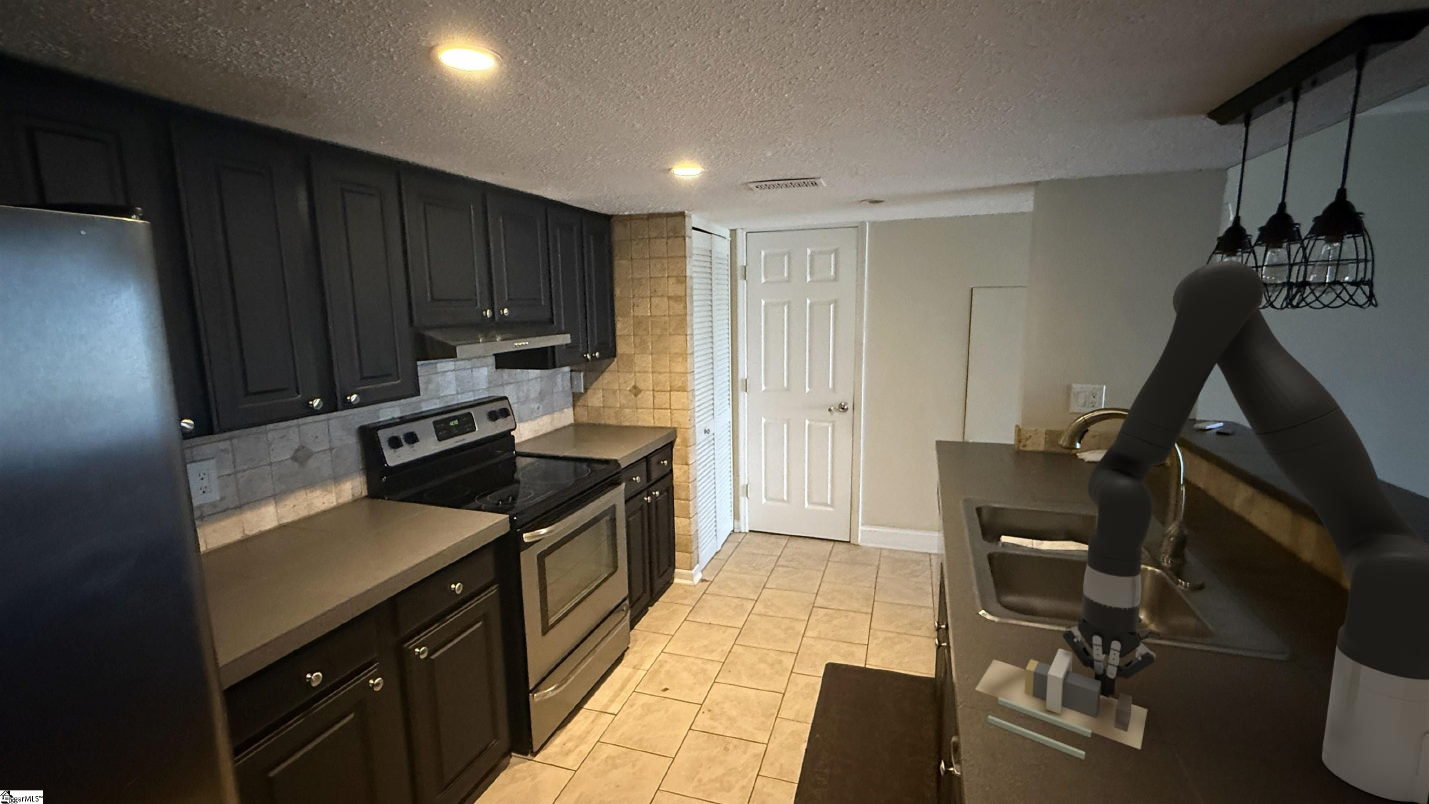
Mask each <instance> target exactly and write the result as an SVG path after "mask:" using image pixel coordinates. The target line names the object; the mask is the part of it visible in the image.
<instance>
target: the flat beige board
mask: <svg viewBox="0 0 1429 804" xmlns="http://www.w3.org/2000/svg"><path fill="white" fill-rule="evenodd" d="M1025 675H1026V668H1025V669H1024V668H1021V667H1019V666H1015V665H1012V664H1009V663H1006V662H1003V661H1000V660H996V659H993V660H992V661H991V663H990V665H989V666H988V668H987V669H986V671H985V673H984V674H983V676H982V678H981V679H980V681H979V683H978V684H977V686H976V688H975V691H977V692H981V693H983V694H986V695H989V696H991V697H994V698H997V699H998V698H999V697H1000V698H1003V699H1006V700H1009V701H1011V702H1014V703H1017V704H1020V705H1023V706H1025V707H1028V708H1031V709H1034V710H1036V711H1039V712H1042V713H1045V714H1047V715H1050V716H1053V717H1056V718H1059V719H1061V720H1064V721H1067V722H1070V723H1072V724H1075V725H1078V726H1081V727H1084V728H1086V729H1089V730H1091V733H1092V734H1093V733H1094V734H1097V735H1099V736H1101V737H1104V738H1107V739H1110V740H1113V741H1116V742H1118V743H1121V744H1124V745H1126V746H1130V747H1132V748H1135V749H1138V750H1141V749H1142V742H1143V737H1144V730H1145V725H1146V720H1147V714H1148V709H1147V708H1144V707H1143V706H1142V707H1141V706H1138V705H1135V704H1132V703H1133V696H1132V695H1129V694H1125V693H1123V692H1119V695H1118V698H1114V697H1111V696H1109V698H1107V697H1104V696H1101V695H1100V706H1099V710H1098V714H1097V717H1096V718H1094V717H1091V716H1088V715H1085V714H1082V713H1079V712H1077V711H1074V710H1071V709H1068V708H1065V707H1062V708H1061V713H1060V714H1058V713H1055V712H1053V711H1050V710H1047V709H1046V701H1045V700H1042V699H1039V698H1036V697H1033V696H1031V695H1028V694H1025Z"/></svg>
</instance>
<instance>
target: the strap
mask: <svg viewBox="0 0 1429 804" xmlns="http://www.w3.org/2000/svg"><path fill="white" fill-rule="evenodd" d="M1073 653H1074V652H1073V651H1068V650H1065V649H1062V648H1058V650H1057V652H1056V654H1055V657H1054V659H1053V662H1052V663H1051V664H1050V665H1051V668H1050V670H1049V672H1048V679H1047V697H1046V709H1047V710H1050V711H1053V712H1055V713H1058V714H1060V713H1061V708H1062V691H1063V680H1064V677H1065V675H1066V672H1067V671H1070V672H1072V671H1073V670H1072V669H1073Z"/></svg>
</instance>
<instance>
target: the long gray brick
mask: <svg viewBox="0 0 1429 804" xmlns="http://www.w3.org/2000/svg"><path fill="white" fill-rule="evenodd" d="M1051 665H1052V664H1048V663H1044V662H1040V661H1039V660H1038V661H1037V660H1034V659H1030V660H1029V661H1028V663H1027V666H1026V668H1025V670H1026V675H1025V694H1028V695H1031V696H1033V697H1036V698H1039V699H1042V700H1045V701H1046V697H1047V679H1048V672H1049V670H1050V668H1051ZM1100 691H1101V681H1099V680H1095V678H1091V677H1089V676H1085V675H1082V674H1079V673H1075V672H1070V671H1067V672H1066V675H1065V677H1064V680H1063V691H1062V707H1065V708H1068V709H1071V710H1074V711H1077V712H1079V713H1082V714H1085V715H1088V716H1091V717H1094V718H1096V717H1097V714H1098V710H1099V706H1100Z"/></svg>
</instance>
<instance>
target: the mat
mask: <svg viewBox="0 0 1429 804" xmlns="http://www.w3.org/2000/svg"><path fill="white" fill-rule="evenodd" d="M997 704H998V705H1001V706H1002V707H1005V708H1009V709H1011V710H1014V711H1017V712H1019V713H1023V714H1025V715H1028V716H1031V717H1033V718H1037V719H1038V720H1041V721H1044V722H1047V723H1049V724H1053V725H1055V726H1057V727H1061V728H1063V729H1066V730H1069V731H1070V732H1071V731H1072V732H1074V733H1076V734H1079V735H1081V736H1085V737H1087V738H1091V736H1092V732H1091V730H1089V729H1086V728H1084V727H1081V726H1078V725H1075V724H1072V723H1070V722H1067V721H1064V720H1061V719H1059V718H1056V717H1053V716H1050V715H1047V714H1045V713H1042V712H1039V711H1036V710H1034V709H1031V708H1028V707H1025V706H1023V705H1020V704H1017V703H1014V702H1011V701H1009V700H1006V699H1003V698H1000V697H999V698H997ZM987 723H989V724H991V725H994V726H996V727H999V728H1002V729H1004V730H1007V731H1009V732H1011V733H1014V734H1017V735H1020V736H1022V737H1025V738H1027V739H1030V740H1033V741H1034V742H1037V743H1041V744H1042V745H1045V746H1046V747H1047V746H1048V747H1049V748H1052V749H1055V750H1058V751H1061V752H1063V753H1065V754H1068V755H1071V756H1073V757H1075V758H1079V759H1080V760H1085V757H1086V752H1085V751H1083V750H1081V749H1078V748H1075V747H1074V746H1070V745H1068V744H1065V743H1062V742H1059V741H1058V740H1057V741H1056V740H1055V739H1053V738H1050V737H1047V736H1045V735H1041V734H1039V733H1037V732H1034V731H1031V730H1029V729H1026V728H1023V727H1021V726H1018V725H1015V724H1013V723H1011V722H1007V721H1005V720H1002V719H1000V718H997V717H994V716H993V715H988V716H987Z"/></svg>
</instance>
